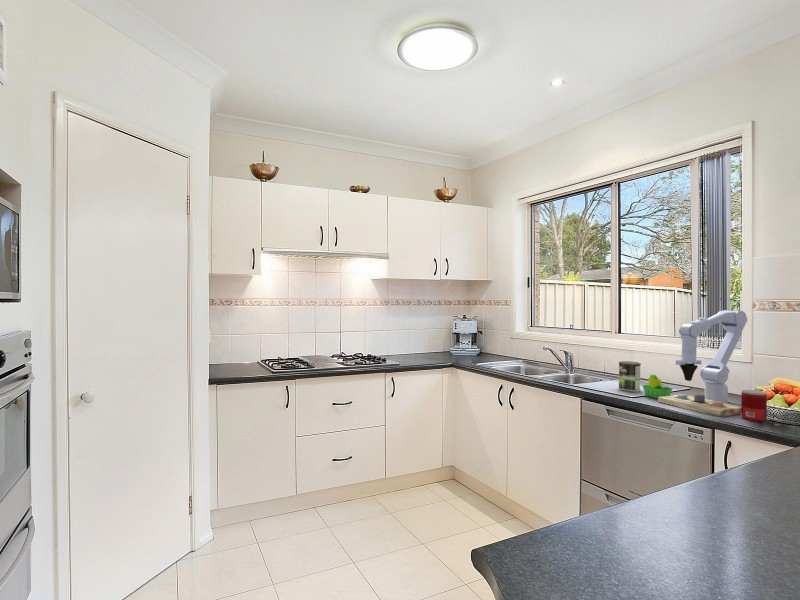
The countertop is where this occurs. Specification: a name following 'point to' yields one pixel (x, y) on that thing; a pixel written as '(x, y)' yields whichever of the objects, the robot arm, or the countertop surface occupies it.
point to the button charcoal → (699, 398)
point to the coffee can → (629, 376)
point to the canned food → (754, 405)
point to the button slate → (682, 396)
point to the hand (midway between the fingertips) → (688, 380)
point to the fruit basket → (656, 388)
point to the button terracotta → (717, 404)
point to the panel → (701, 406)
